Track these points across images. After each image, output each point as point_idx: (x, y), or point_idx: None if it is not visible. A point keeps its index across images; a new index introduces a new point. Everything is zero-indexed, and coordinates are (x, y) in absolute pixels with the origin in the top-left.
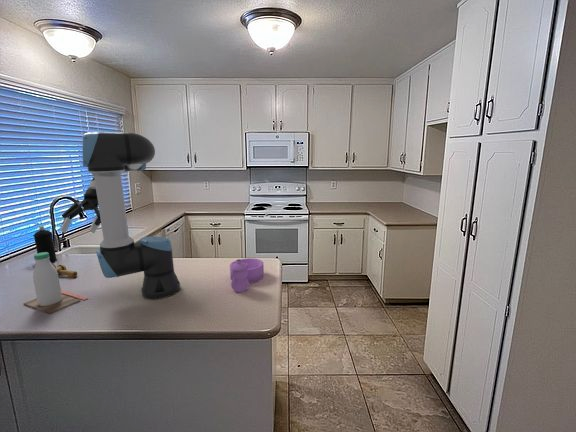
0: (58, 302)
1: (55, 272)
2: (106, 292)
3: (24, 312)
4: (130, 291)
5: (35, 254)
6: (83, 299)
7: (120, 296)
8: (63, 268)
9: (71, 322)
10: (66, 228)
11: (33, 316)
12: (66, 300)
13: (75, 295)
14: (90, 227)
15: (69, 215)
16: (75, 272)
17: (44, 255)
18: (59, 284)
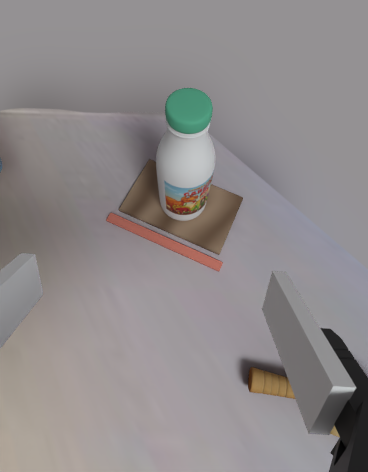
0: None
1: (156, 160)
2: (77, 256)
3: None
4: (11, 260)
5: (206, 98)
6: (112, 213)
7: (28, 232)
8: None
9: (84, 133)
10: (275, 326)
11: None
12: (150, 207)
13: (147, 235)
14: (19, 264)
15: (353, 437)
16: (251, 384)
17: (168, 97)
18: (160, 189)
